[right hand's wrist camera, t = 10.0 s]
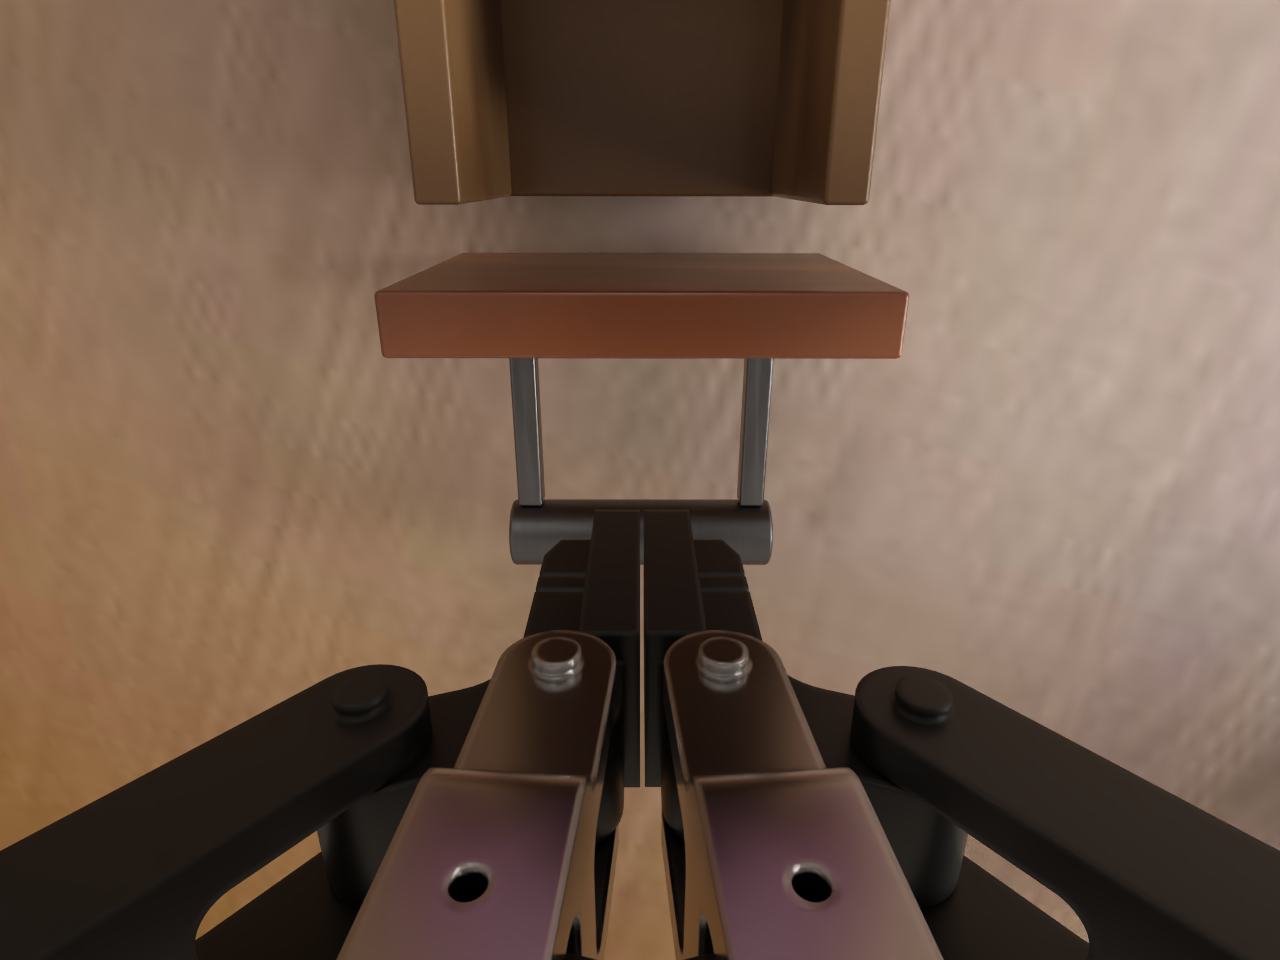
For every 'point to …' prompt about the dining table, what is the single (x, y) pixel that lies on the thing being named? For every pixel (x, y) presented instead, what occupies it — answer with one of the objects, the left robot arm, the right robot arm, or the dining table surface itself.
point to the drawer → (641, 166)
